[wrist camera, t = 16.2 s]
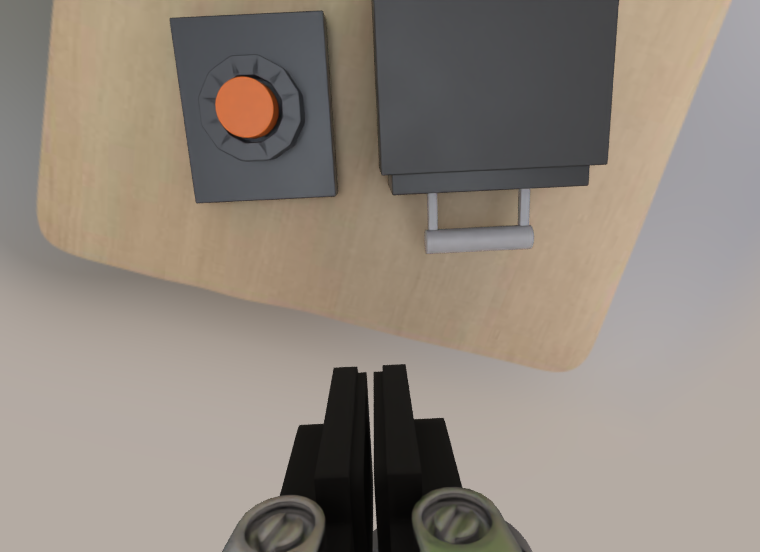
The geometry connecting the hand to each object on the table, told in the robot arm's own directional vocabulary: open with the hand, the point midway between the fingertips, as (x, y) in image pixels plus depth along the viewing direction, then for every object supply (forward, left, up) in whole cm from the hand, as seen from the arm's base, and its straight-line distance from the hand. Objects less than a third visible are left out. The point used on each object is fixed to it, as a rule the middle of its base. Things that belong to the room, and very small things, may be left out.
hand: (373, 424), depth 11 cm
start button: (+9, +8, -23) cm, 26 cm away
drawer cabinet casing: (+12, -7, -27) cm, 30 cm away
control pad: (+9, +8, -27) cm, 30 cm away
